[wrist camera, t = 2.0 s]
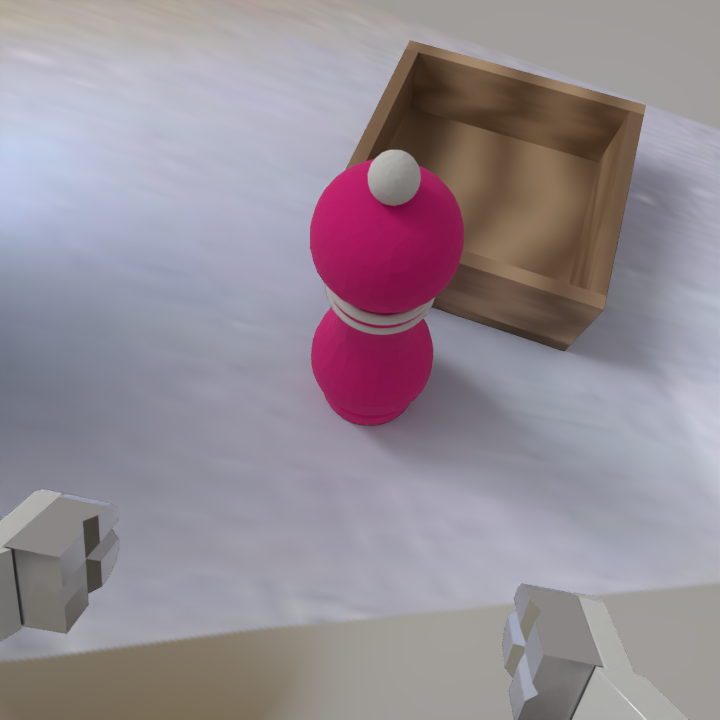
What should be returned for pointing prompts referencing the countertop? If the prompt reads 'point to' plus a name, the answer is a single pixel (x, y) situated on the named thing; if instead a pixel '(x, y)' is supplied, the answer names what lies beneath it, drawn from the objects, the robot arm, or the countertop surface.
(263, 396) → the countertop surface
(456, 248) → the pepper mill
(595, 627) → the robot arm
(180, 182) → the countertop surface
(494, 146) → the tray
